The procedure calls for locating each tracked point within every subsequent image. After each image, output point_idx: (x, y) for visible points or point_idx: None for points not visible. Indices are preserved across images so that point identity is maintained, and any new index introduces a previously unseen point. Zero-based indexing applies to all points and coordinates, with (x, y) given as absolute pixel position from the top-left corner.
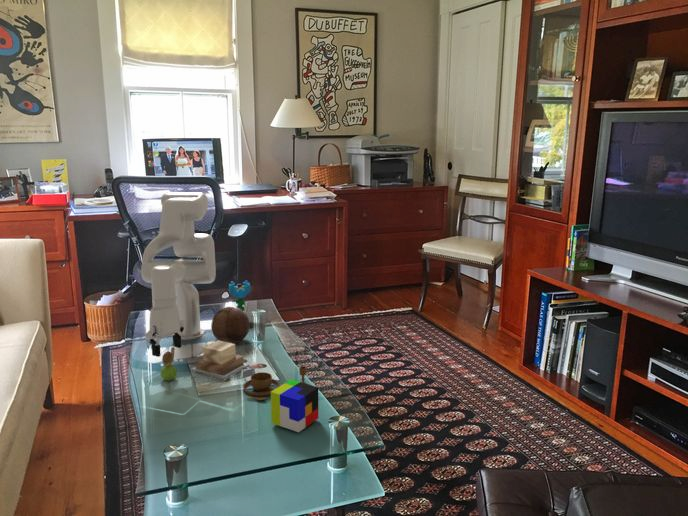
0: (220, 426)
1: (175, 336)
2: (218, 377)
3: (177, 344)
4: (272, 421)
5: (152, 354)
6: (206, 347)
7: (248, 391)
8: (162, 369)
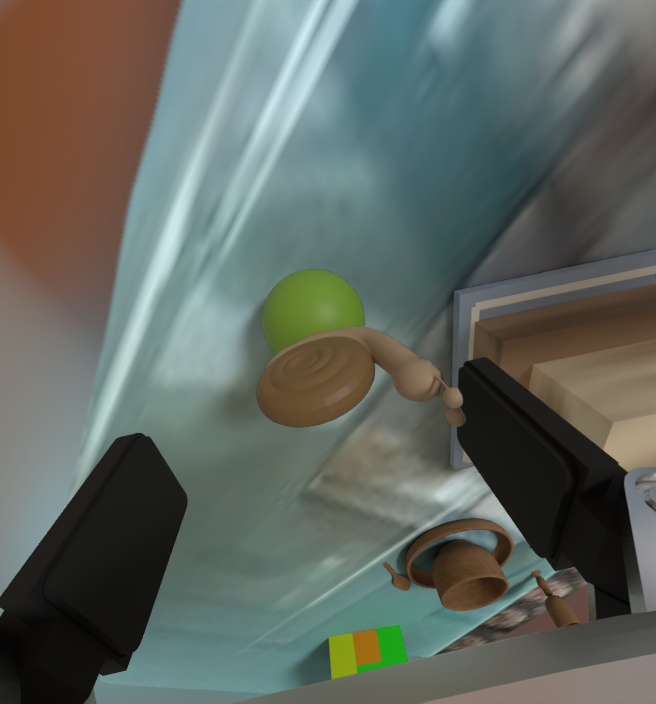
0: (238, 613)
1: (561, 512)
2: (452, 443)
3: (475, 440)
4: (329, 644)
5: (118, 443)
6: (615, 440)
7: (406, 567)
8: (272, 325)
